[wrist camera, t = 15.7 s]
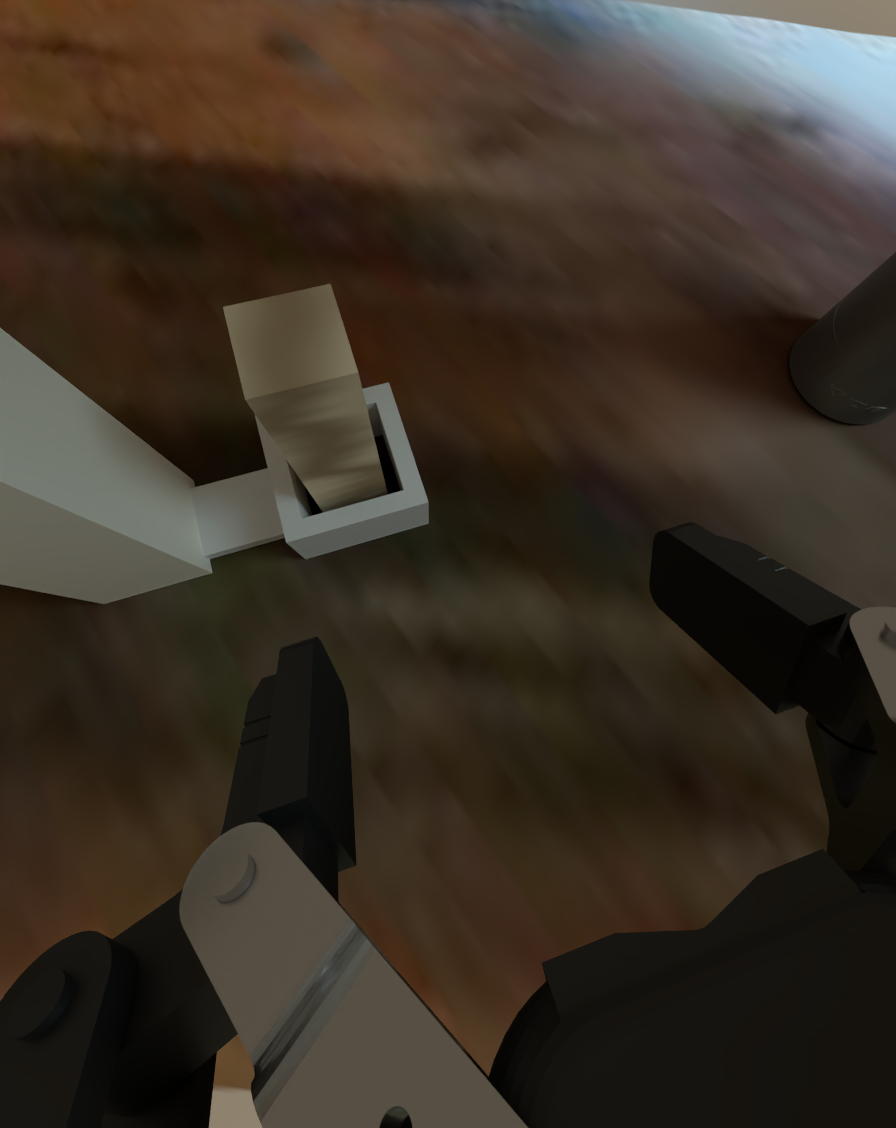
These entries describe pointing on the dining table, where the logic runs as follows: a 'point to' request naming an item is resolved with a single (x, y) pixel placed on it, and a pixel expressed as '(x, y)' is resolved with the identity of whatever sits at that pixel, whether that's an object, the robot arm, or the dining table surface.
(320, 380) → the block
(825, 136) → the dining table surface
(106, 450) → the post
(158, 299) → the dining table surface
